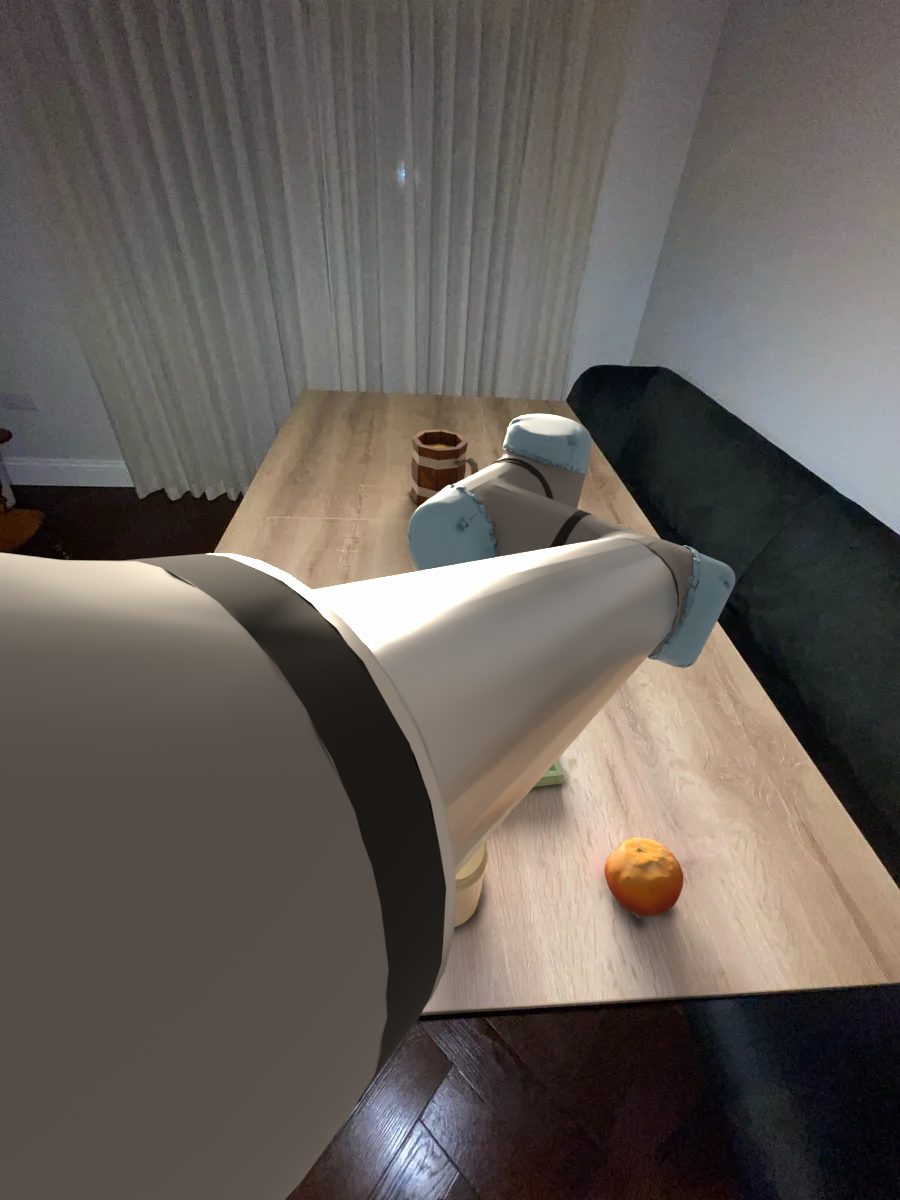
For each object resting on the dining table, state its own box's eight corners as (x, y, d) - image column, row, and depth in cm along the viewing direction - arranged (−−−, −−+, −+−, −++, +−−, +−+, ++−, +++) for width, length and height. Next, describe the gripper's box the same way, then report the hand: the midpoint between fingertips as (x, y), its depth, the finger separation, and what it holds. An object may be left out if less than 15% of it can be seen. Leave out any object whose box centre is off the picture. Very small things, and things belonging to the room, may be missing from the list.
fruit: (645, 952, 55) (638, 884, 53) (597, 904, 62) (589, 843, 61) (703, 919, 58) (697, 854, 56) (650, 877, 65) (644, 818, 64)
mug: (399, 493, 135) (399, 436, 125) (438, 480, 142) (441, 425, 133) (451, 525, 124) (456, 465, 114) (491, 508, 131) (498, 451, 122)
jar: (413, 934, 56) (415, 891, 50) (405, 859, 62) (406, 812, 56) (486, 922, 57) (497, 878, 51) (471, 850, 64) (480, 802, 57)
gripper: (558, 660, 44) (520, 802, 57) (561, 520, 64) (532, 649, 77) (470, 645, 45) (452, 788, 58) (500, 511, 65) (481, 640, 77)
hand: (498, 709), depth 67 cm, fingers open, 13 cm apart
